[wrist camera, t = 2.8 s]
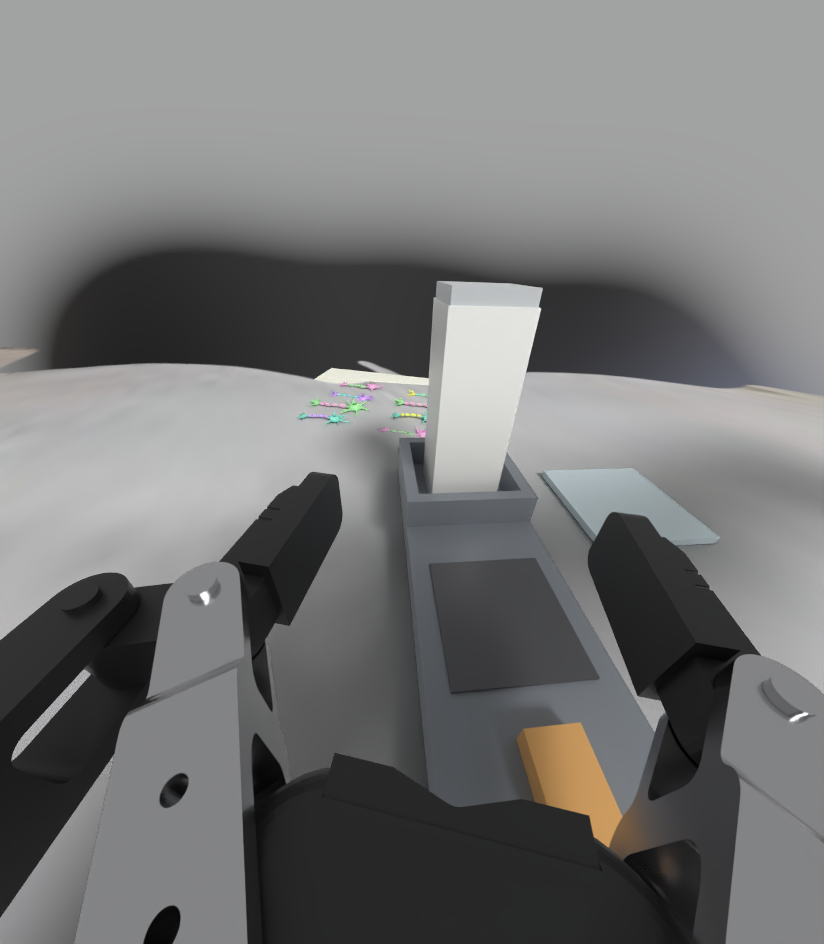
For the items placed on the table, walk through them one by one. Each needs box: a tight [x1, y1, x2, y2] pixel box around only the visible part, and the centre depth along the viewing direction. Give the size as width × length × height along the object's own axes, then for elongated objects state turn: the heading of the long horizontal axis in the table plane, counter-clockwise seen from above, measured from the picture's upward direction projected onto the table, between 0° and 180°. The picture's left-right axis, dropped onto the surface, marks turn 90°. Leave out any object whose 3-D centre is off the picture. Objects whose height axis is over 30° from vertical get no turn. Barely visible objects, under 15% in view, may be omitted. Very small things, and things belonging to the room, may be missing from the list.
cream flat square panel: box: [296, 368, 429, 438], centre depth 41 cm, size 30×30×2 cm
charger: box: [423, 281, 543, 494], centre depth 19 cm, size 4×4×13 cm
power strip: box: [398, 438, 655, 848], centre depth 15 cm, size 8×30×4 cm, turn 5°
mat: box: [542, 468, 720, 546], centre depth 25 cm, size 9×9×1 cm
